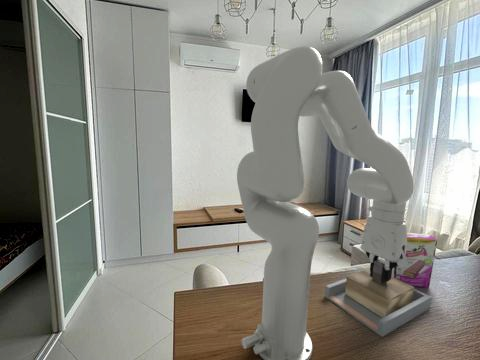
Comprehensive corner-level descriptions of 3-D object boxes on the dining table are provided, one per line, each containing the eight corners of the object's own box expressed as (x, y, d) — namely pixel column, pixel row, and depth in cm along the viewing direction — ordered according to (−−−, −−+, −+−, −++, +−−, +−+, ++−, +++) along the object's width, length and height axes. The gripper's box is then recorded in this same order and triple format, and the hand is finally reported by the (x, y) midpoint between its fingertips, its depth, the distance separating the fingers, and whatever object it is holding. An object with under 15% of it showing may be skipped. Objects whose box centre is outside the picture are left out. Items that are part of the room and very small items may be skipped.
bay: (381, 336, 58) (383, 323, 58) (325, 296, 73) (326, 285, 72) (429, 308, 69) (431, 296, 68) (371, 278, 83) (373, 268, 83)
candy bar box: (393, 286, 79) (399, 236, 77) (385, 277, 84) (391, 231, 82) (430, 289, 78) (438, 239, 76) (420, 280, 83) (427, 233, 81)
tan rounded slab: (385, 319, 63) (390, 277, 61) (344, 293, 73) (348, 256, 71) (411, 305, 69) (417, 266, 67) (370, 283, 79) (374, 248, 77)
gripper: (352, 208, 72) (346, 268, 75) (412, 226, 58) (402, 298, 61) (368, 206, 76) (362, 263, 79) (428, 221, 62) (418, 290, 65)
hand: (379, 278), depth 70 cm, fingers closed on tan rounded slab, 2 cm apart
